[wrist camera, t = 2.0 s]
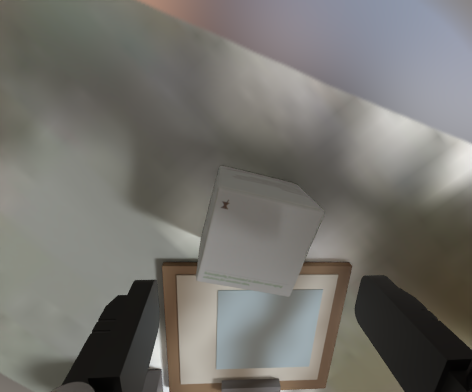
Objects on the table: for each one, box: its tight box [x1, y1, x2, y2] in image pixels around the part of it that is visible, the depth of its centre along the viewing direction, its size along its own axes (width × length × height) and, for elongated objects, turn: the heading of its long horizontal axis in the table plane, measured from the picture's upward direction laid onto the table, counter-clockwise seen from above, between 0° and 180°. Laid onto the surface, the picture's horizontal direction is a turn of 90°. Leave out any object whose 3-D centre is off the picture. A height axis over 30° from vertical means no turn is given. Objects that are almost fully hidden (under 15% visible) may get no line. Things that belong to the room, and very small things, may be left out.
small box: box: [196, 166, 325, 297], centre depth 15 cm, size 6×6×5 cm
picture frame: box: [162, 262, 352, 392], centre depth 20 cm, size 14×13×1 cm
